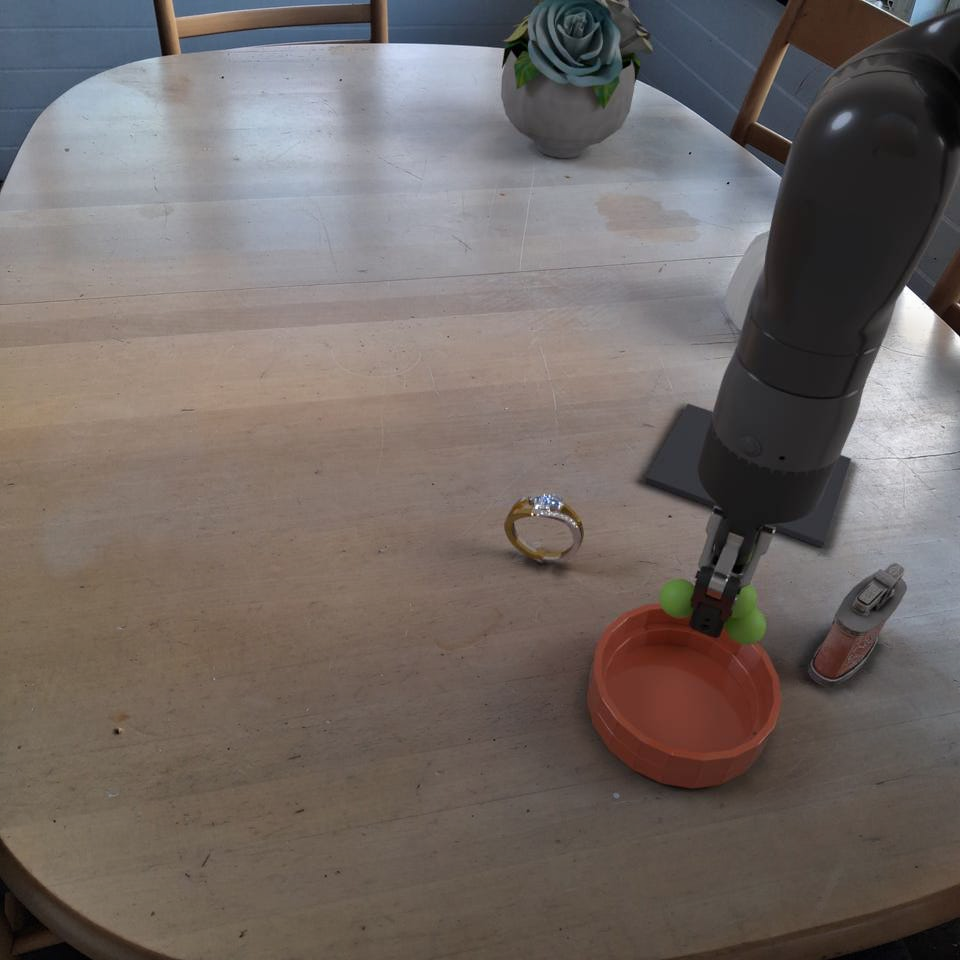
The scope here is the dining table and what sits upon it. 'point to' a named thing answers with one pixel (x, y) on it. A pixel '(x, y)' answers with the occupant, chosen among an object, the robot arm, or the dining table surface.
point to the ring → (545, 508)
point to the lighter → (858, 626)
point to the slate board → (681, 477)
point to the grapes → (739, 627)
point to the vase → (745, 280)
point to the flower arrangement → (572, 73)
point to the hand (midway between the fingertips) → (711, 612)
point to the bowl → (681, 699)
